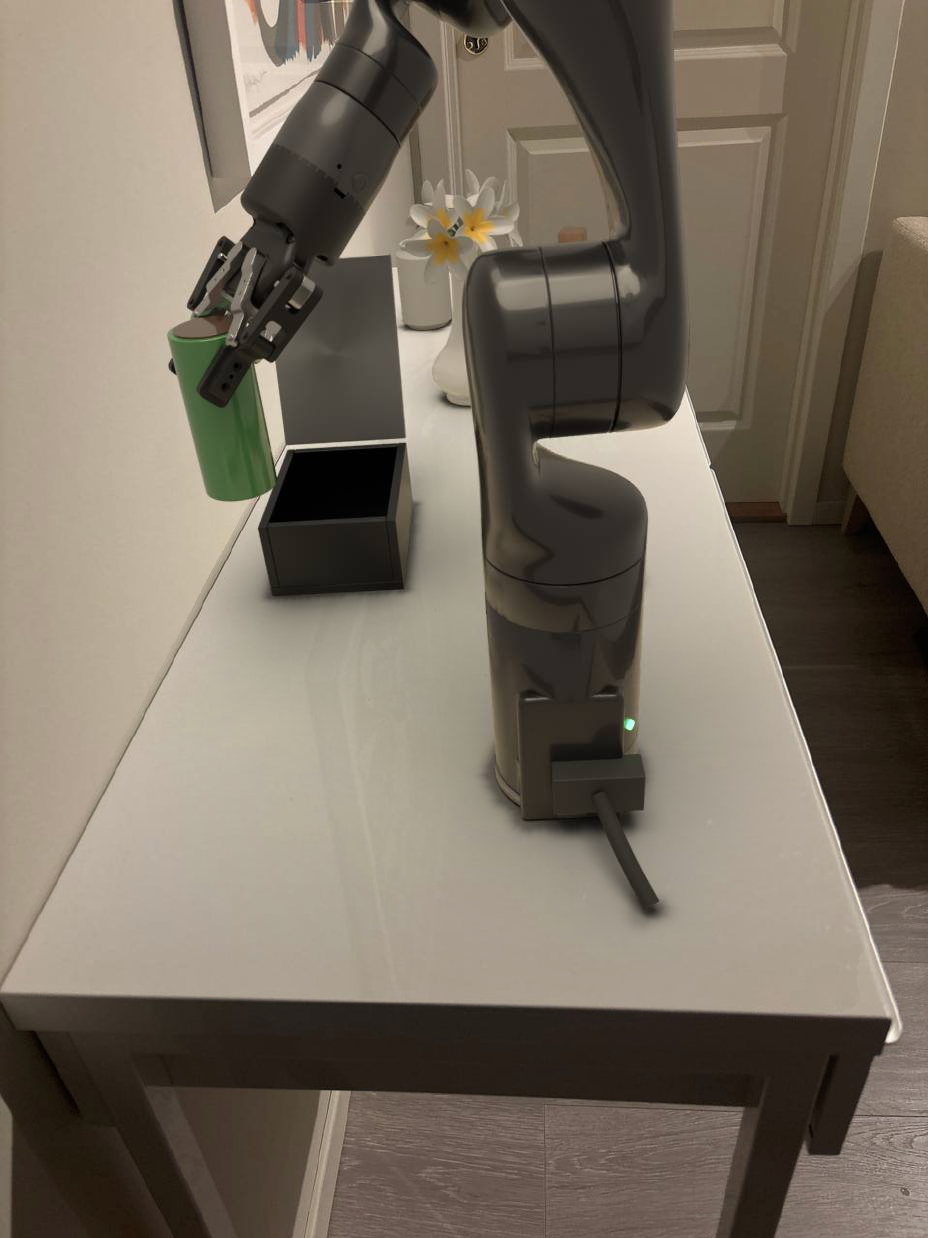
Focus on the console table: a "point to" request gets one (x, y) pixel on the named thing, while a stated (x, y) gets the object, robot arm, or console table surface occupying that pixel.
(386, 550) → the dark grey open box
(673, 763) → the console table surface
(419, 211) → the flower vase
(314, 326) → the lid
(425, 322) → the can
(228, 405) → the green cylinder
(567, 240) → the wooden block
